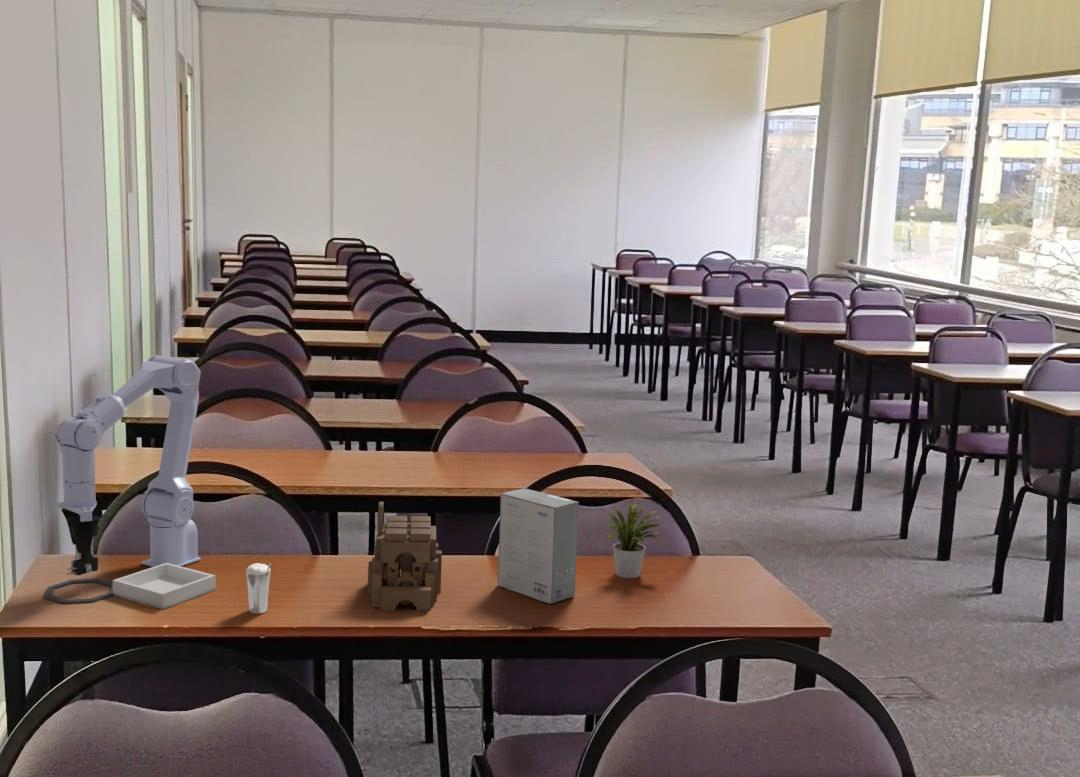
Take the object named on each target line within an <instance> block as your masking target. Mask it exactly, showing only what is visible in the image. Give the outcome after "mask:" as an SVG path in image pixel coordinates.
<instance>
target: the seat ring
mask: <svg viewBox="0 0 1080 777" xmlns="http://www.w3.org/2000/svg"><path fill="white" fill-rule="evenodd" d="M90 583H92V584H93V583H98V584H100V585H104V586H109V587H110V589H109V592H106V593H103V594H100V595H97V596H94V597H92V598H75V599H74V598H71V599H65V598H63V597H59V596H55V595H53V593H54V591H55V590H57V589H61V588H63V587H67V586H70V585H72V584H73V585H74V584H90ZM43 595H44V596H43V598H44V599H45V600H49V601H52V602H56V603H59V604H62V605H63V604H64V605H70V604H71V605H72V604H85V603H86V604H87V603H89V604H90V603H96V602H98V601H101V600H104V599H107V598H110V597H114V596H115V595H114V593H113V581H110V580H107V579H103V578H97V577H96V578H81V579H80V578H79V579H69V580H66V581H62V582H60V583H57V584H53V585H50V586H47V588H46V591H45V593H44V594H43Z"/></svg>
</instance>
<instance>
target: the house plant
mask: <svg viewBox="0 0 1080 777" xmlns="http://www.w3.org/2000/svg"><path fill="white" fill-rule="evenodd" d="M637 506H638V505H637V502H635V503H633V504H632V500H630V501H629V504H628V509H627V521H626V520H625V518H624V514H623V513H622V511H621V510H619V509H618V508H617V506H614V510H615V511H616V513H617V516H618V518H617V516H616V515H615V514H614V512H613V511H611V510H608V511H609V512H611V513H612V514H611V513H609V512H606V511H605V514H606V515H608V516H609V517H610V519H611V520H612V521H613V522H614V523H615V524H614V523H607V524H606V526H608V527H609V528H611V529H613V531H615V532H616V533H617V534H616V533H615V532H614V533H613V532H608V533H607V536H606V538H607V539H606V540H607V541H608V540H610V539H618V540H619V541H620V542H617V543H616V542H615V543H614V544H613V545H612V549H613V550H612V551H613V559H614V567H615V575H616V576H618V577H619V578H623V579H635V578H639V577H640V575H641V570H642V566H643V561H644V558H645V553H646V550H647V548H646V546H645V545H643V544H642V543H643V541H644V540H645V539H647V538H655V539H658V536H659V537H660V535H659V534H660V532H659V531H654V530H651V531H650V530H649V531H648V530H647V529H650V528H655V527H659V526H660V527H662V526H666V524H663V523H661V524H660V523H649V522H656V520H654V519H655V518H656V519H658V518H659V519H660V518H662V516H654V517H653V516H652V515H653V514H654V513H656V512H658V511H659V509H655V510H653V511H651V512H649V513H648V514H647V515H646V516H645V517H643V519H641V521H640V522H639V523H637V522H638V519H639V518H640V516H641V514H642V513H643V512H644V510H645V509H646V508H647V507H648V504H646V505H645V506H644V507H643V508H641V509H640V510H639V511H638V510H637ZM651 516H652V517H651ZM648 523H649V524H648ZM635 526H636V528H635ZM646 530H647V531H646ZM654 534H655V535H654Z"/></svg>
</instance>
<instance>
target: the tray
mask: <svg viewBox="0 0 1080 777" xmlns="http://www.w3.org/2000/svg"><path fill="white" fill-rule="evenodd" d="M216 577H217V576H216V574H211V573H207V572H204V571H201V570H195V569H192V568H188V567H184V566H178V565H174V564H170V563H164V564H161V565H158V566H155V567H149V568H146V569H143V570H140V571H137V572H134V573H131V574H128V575H125V576H122V577H118V578H115V579H113V580H112V582H113V593H114V596H116V597H118V598H122V599H125V600H130V601H133V602H136V603H139V604H143V605H146V606H150V607H154V608H157V609H159V610H165V609H167V608H170V607H173V606H176V605H179V604H181V603H184V602H187V601H190V600H192V599H195V598H197V597H200V596H203V595H205V594H209V593H211V592H213V591H216V586H217V584H216V582H217V581H216V580H217V578H216Z"/></svg>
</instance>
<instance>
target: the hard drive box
mask: <svg viewBox="0 0 1080 777" xmlns="http://www.w3.org/2000/svg"><path fill="white" fill-rule="evenodd" d="M499 498H500V501H499V502H500V504H499V506H500V507H499V530H498V532H499V534H498V536H499V537H498V538H499V539H498V561H497V562H498V564H497V568H498V570H497V586H499V587H502V588H505V589H507V590H510V591H512V592H516V593H518V594H521V595H523V596H526V597H529V598H532V599H534V600H537V601H540V602H544V603H546V604H549V605H550V604H555V603H557V602H561V601H564V600H566V599H570V598H573V597H575V595H576V575H577V574H576V573H577V571H576V569H577V548H578V525H579V524H578V522H579V520H578V519H579V503H580V502H579V501H575V500H572V499H568V498H564V497H561V496H557V495H553V494H551V493H550V494H548V493H546V492H540V491H538V490H532V489H528V488H519V489H514V490H511V491H506V492H502V493H500V497H499Z"/></svg>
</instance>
